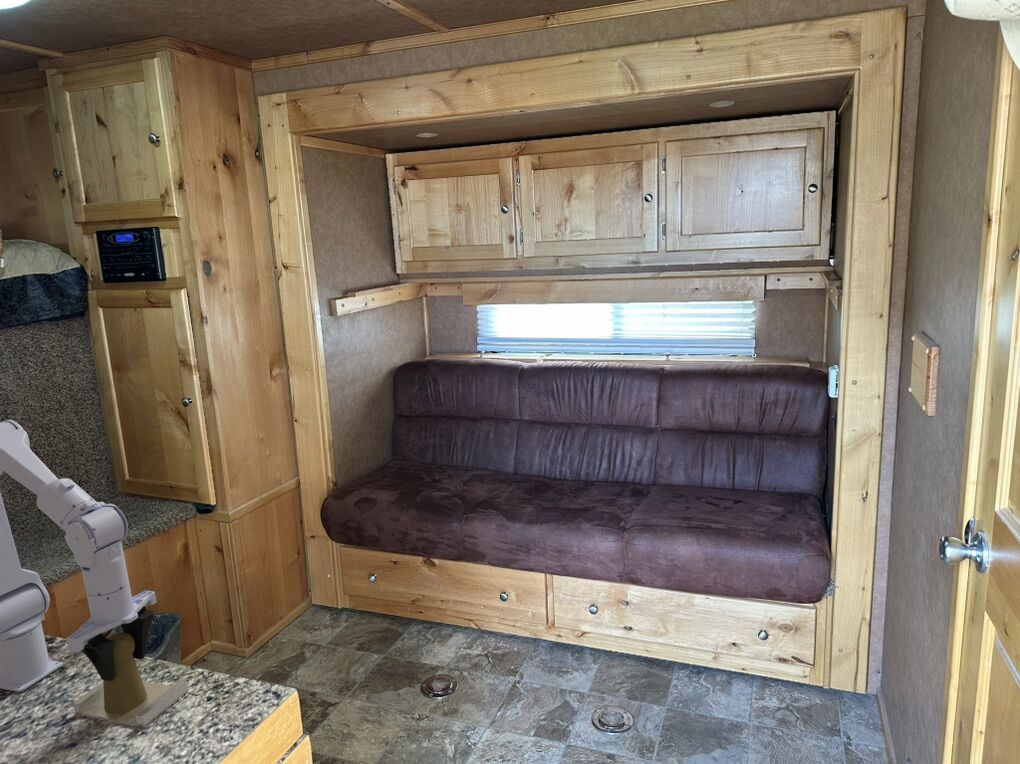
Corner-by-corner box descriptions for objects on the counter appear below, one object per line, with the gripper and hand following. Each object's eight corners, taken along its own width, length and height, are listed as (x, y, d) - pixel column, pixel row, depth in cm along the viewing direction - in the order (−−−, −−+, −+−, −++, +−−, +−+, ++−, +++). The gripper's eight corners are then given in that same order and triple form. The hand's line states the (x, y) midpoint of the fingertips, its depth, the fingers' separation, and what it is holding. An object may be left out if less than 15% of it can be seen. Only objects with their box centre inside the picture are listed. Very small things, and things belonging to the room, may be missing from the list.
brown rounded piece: (155, 690, 115) (144, 627, 113) (130, 715, 109) (117, 649, 107) (122, 688, 116) (110, 626, 114) (95, 713, 110) (81, 647, 108)
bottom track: (75, 714, 111) (72, 703, 111) (122, 680, 119) (120, 669, 119) (144, 728, 107) (142, 716, 106) (188, 691, 115) (186, 680, 115)
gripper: (86, 614, 101) (103, 700, 103) (165, 567, 114) (179, 645, 117) (49, 608, 103) (67, 693, 106) (130, 564, 116) (145, 640, 119)
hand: (123, 668), depth 111 cm, fingers closed on brown rounded piece, 5 cm apart
